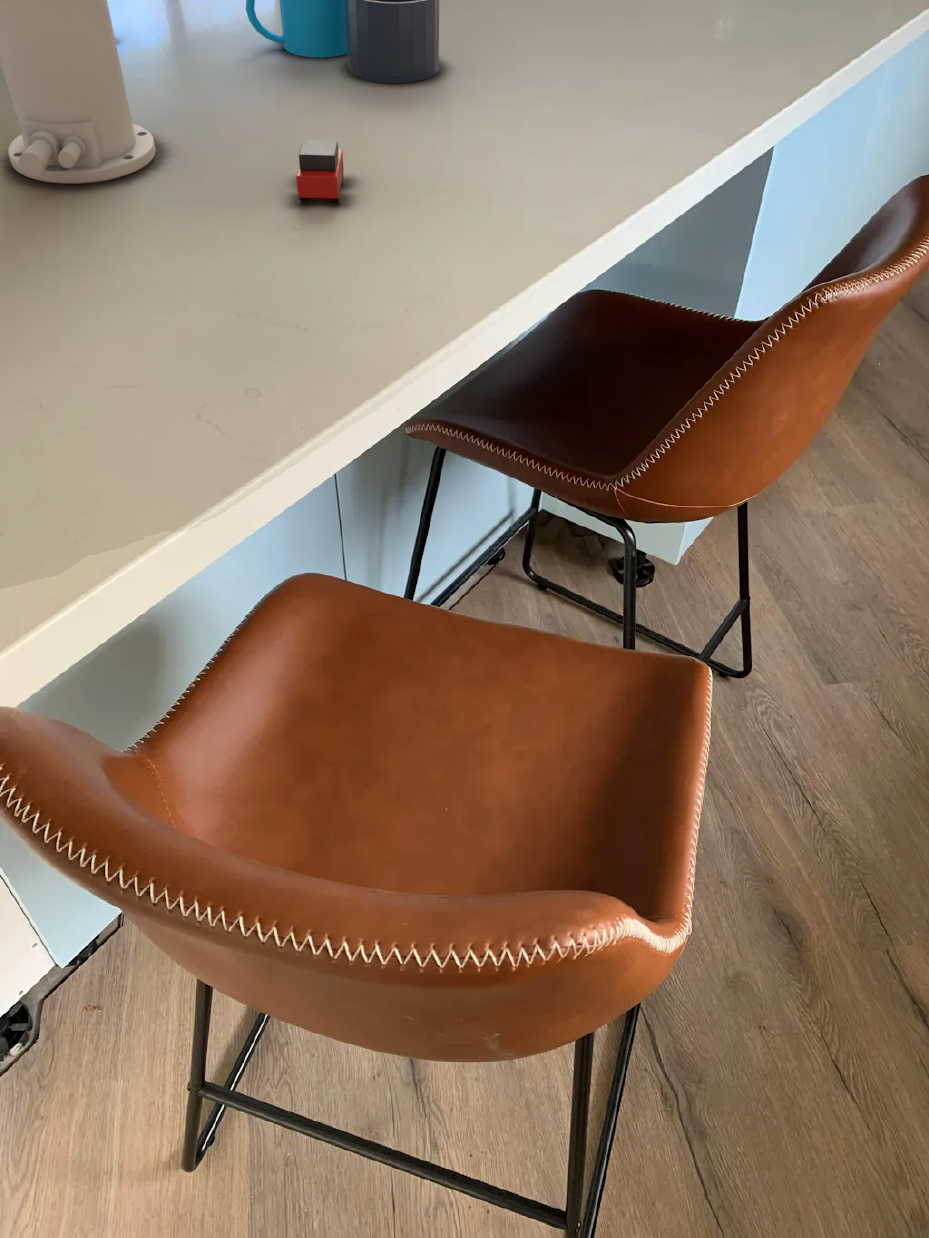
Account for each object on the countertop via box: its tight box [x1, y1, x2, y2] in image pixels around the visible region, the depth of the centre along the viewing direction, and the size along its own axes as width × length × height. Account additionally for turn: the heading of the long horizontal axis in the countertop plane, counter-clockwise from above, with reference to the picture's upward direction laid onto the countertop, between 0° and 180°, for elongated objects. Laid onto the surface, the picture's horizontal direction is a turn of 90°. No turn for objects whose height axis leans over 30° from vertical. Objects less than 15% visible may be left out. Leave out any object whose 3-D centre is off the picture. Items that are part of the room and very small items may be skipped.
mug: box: [245, 0, 347, 58], centre depth 107 cm, size 12×8×8 cm
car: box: [295, 139, 345, 203], centre depth 82 cm, size 6×3×4 cm, turn 1°
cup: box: [345, 0, 440, 84], centre depth 103 cm, size 10×10×8 cm
